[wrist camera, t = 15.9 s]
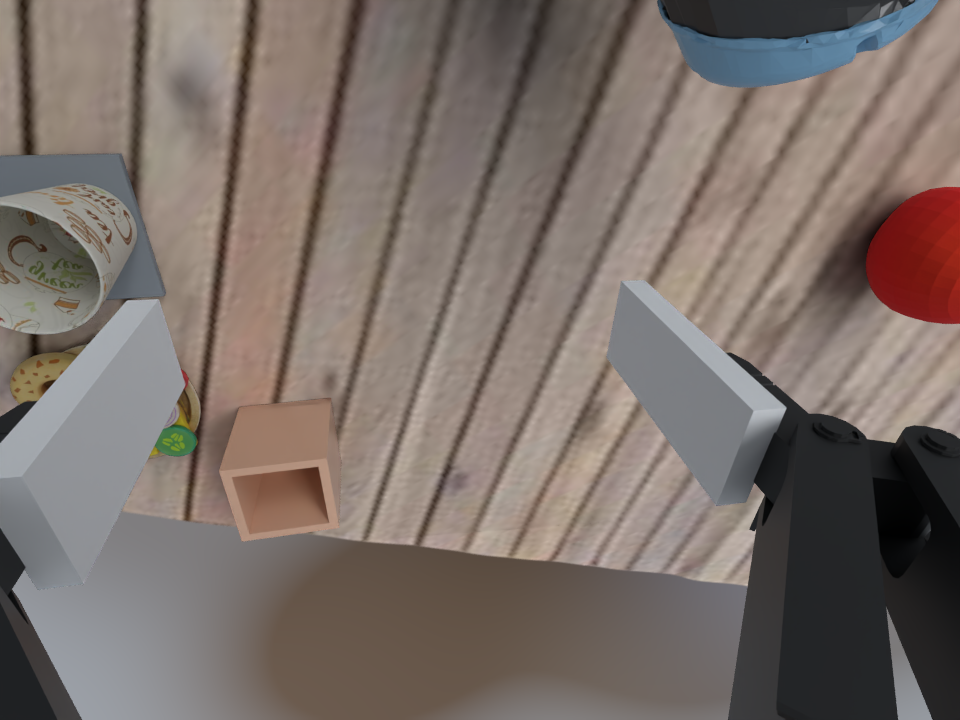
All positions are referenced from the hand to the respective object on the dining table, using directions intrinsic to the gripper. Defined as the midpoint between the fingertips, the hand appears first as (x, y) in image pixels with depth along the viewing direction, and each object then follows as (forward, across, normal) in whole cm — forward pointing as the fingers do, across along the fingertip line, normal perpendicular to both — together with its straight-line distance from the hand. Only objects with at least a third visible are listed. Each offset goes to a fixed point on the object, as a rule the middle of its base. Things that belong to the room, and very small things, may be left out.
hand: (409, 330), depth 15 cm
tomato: (+32, +52, -9) cm, 62 cm away
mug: (+30, -24, -6) cm, 39 cm away
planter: (+30, -11, -28) cm, 43 cm away
